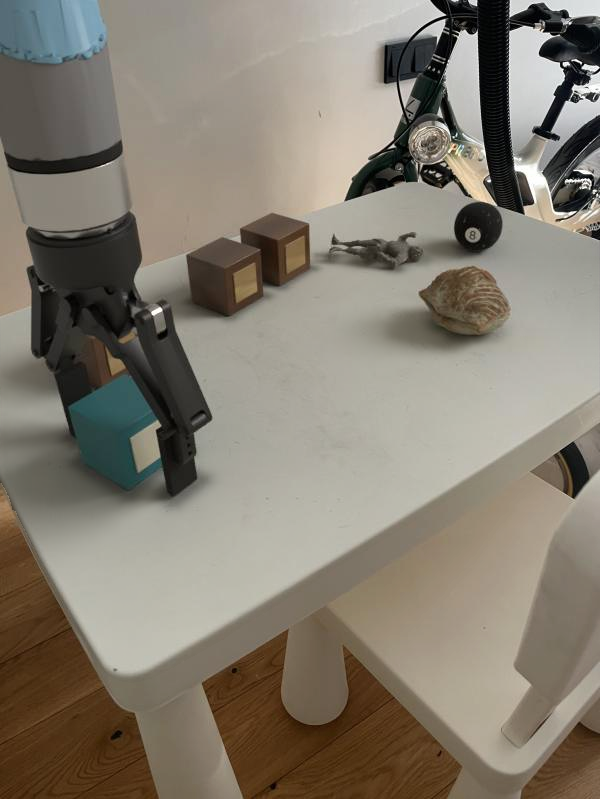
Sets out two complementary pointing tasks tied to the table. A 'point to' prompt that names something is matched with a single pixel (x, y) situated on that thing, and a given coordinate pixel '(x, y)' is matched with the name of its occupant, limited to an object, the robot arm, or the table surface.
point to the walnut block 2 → (225, 275)
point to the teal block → (117, 432)
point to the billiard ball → (478, 226)
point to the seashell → (466, 301)
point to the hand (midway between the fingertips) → (131, 456)
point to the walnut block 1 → (102, 361)
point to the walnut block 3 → (279, 246)
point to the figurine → (382, 249)
